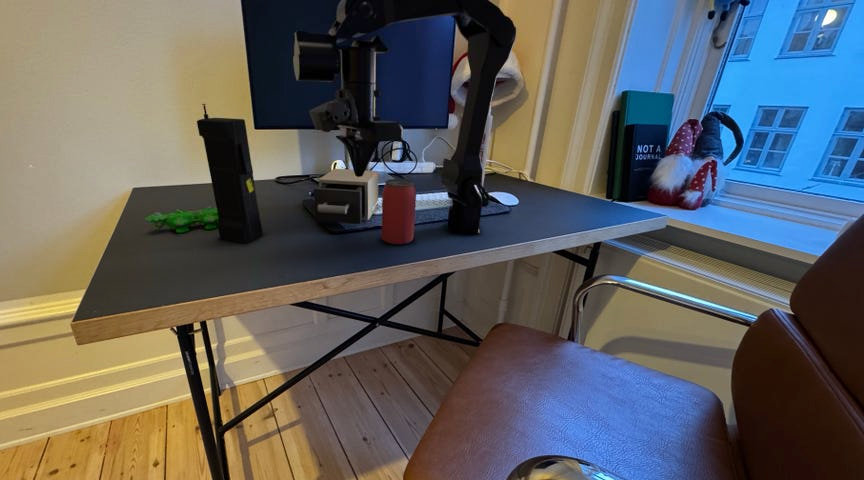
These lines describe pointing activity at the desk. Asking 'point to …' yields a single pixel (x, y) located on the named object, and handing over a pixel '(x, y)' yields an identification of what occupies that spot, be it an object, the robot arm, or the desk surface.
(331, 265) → the desk surface
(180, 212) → the crocodile figurine
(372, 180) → the small drawer cabinet
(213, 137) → the portable radio
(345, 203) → the drawer
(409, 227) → the beer can
